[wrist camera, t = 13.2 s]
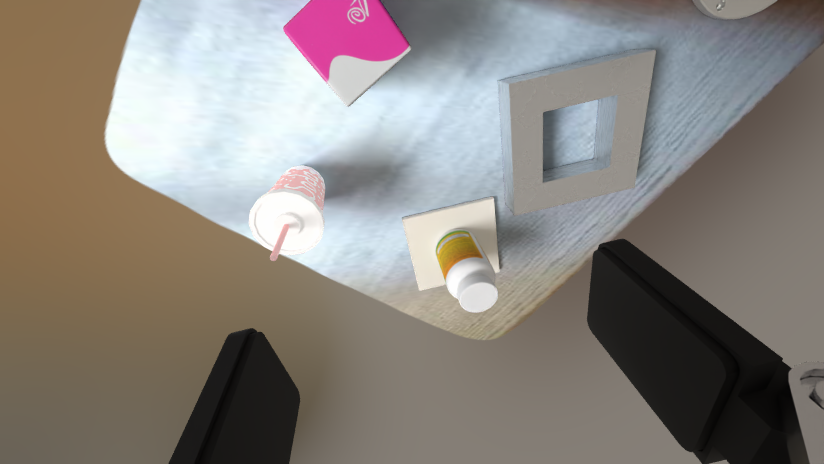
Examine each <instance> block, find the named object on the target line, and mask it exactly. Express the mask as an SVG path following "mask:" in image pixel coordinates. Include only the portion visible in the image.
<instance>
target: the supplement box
mask: <svg viewBox="0 0 824 464" xmlns="http://www.w3.org/2000/svg"><path fill="white" fill-rule="evenodd" d="M283 30H284V32H285V34H286V35H287V36H288V37H289V39H290V40H291V41H292V42H293V44H294V45H295V46H296V47H297V48H298V50H299V51H300V52H301V53H302V55H303V56H304V57H305V58H306V59H307V61H308V62H309V63H310V64H311V65H312V66H313V68H314V69H315V70H316V71H317V72H318V74H319V75H320V76H321V77H322V78H323V79H324V81H325V82H326V83H327V84H328V85H329V86H330V88H331V89H332V90H333V91H334V92H335V93H336V95H337V96H338V97H339V98H340V99H341V100H342V102H343V103H344V104H345V105H346V106H347V107H349V106H350V105H351V104H353V103H354V102H355V101H356V100H357V99H358V98H359V97H360V96H362V95H363V94H364V93H365V92H366V91H367V90H368V89H369V88H370V87H371V86H373V85H374V84H375V83H376V82H377V81H378V80H379V79H380V78H381V77H382V76H383V75H385V74H386V73H387V72H388V71H389V70H390V69H391V68H392V67H393V66H394V65H395V64H396V63H397V62H399V61H400V60H401V59H402V58H403V57H404V56H405V55H406V54H407V53H408V52H410V51H411V49H412V48H411V46H410V44H409V43H408V41H407V40H406V38H405V37H404V35H403V34H402V32H401V31H400V29H399V28H398V26H397V25H396V23H395V22H394V20H393V19H392V17H391V16H390V14H389V13H388V11H387V10H386V8H385V7H384V5H383V4H382V2H381V1H380V0H311V1H310V2H309V3H308V4H307V5H306V6H305V7H304V8H303V9H301V10H300V11H299V12H298V13H297V14H296V15H295V16H294V17H293V18H292V19H291V20H290V21H289V22H288V23H287V24H286V25H285V26H284V27H283Z"/></svg>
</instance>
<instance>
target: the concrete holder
mask: <svg viewBox="0 0 824 464" xmlns="http://www.w3.org/2000/svg"><path fill="white" fill-rule="evenodd" d="M655 55H656V50H645V49H632V50H628V51H624V52H619V53H615V54H611V55H606V56H602V57H598V58H593V59H589V60H585V61H580V62H576V63H572V64H568V65H563V66H559V67H555V68H550V69H546V70H542V71H537V72H533V73H529V74H524V75H520V76H516V77H511V78H507V79H503V80H498V94H499V111H500V128H501V145H502V162H503V179H504V196H505V205H506V206H507V208H508V209H509V210H510V211H511V212H512V213H513V214H514V216H516V215H520V214H525V213H529V212H533V211H537V210H542V209H546V208H550V207H554V206H558V205H563V204H567V203H571V202H575V201H580V200H584V199H588V198H592V197H597V196H601V195H605V194H609V193H614V192H618V191H622V190H626V189H631V188H634V187H635V181H636V175H637V168H638V162H639V156H640V150H641V143H642V137H643V131H644V124H645V118H646V112H647V105H648V99H649V93H650V86H651V80H652V74H653V67H654V61H655ZM597 99H599V100H598V111H597V123H596V135H595V146H594V158H593V159H591V160H586V161H582V162H578V163H574V164H569V165H565V166H561V167H556V168H552V169H548V170H544V171H543V112H546V111H550V110H555V109H559V108H563V107H567V106H572V105H576V104H580V103H585V102H589V101H593V100H597Z"/></svg>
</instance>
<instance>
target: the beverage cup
mask: <svg viewBox="0 0 824 464" xmlns="http://www.w3.org/2000/svg"><path fill="white" fill-rule="evenodd" d="M324 195H325V183H324V179H323V178H322V176H321V175H320V174H319V172H317V171H316V170H314V169H313V168H311V167H308V166H303V165H300V166H293V167H292V168H290V169H288V170H287V171H286V172H285V173H284V174H283V175H282V176H281V178H280V179H279V180H278V181H277V182H276V184H275V185H274V186H273V187H272V188H271V189H270V191H269V192H268V193H266V194H264V195H263V196H261V197H260V198H259V199H258V200H257V201H256V203H255V204H254V206H253V208H252V209H251V211H250V216H249V226H250V228H251V231H252V234H253V236H254V237H255V238H256V239H257V240H258V241H259V243H260V244H261V245H262V246H264V247H265V248H267V249H269V250H271V251H272V254H271V256H270V260H272V261H275V260H276V259H277V257H278V255H279V254H285V255H295V254H302V253H305V252H307V251H308V250H310V249H312V248H314V247H315V246H316V245H317V243H318V242H319V241H320V239H321V238H322V234H323V229H324V223H325V221H324V217H323V206H324Z"/></svg>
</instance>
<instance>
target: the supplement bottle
mask: <svg viewBox="0 0 824 464" xmlns="http://www.w3.org/2000/svg"><path fill="white" fill-rule="evenodd" d="M435 252H436V256H437V259H438V262H439V265H440V268H441V271H442V274H443V276H444V279H445V282H446V285H447V288H448V290H449V292H450V293H451V294H452V295H453V296H454V297H455V298H457V299H458V300H459V302H460V305H461V306H462V308H463V309H465V310H466V311H469V312H482V311H485V310H487V309H489V308H490V307H491V306H493V305H494V303H495V302H496V300H497V298H498V290H497V288H496V286H495V284H494V283H495V271H494V269H493V267H492V265H491V263H490V261H489V260H488V258H487V256H486V254H485V253H484V251H483V249H482V247H481V245H480V244H479V242H478V240H477V239H476V237H475V236H474V235H473V234H472V233H471V232H469V231H467V230H464V229H454V230H451V231H448V232H446V233H445V234H444V235H442V236H441V237H440V239H439V240H438V242H437V244H436V248H435Z"/></svg>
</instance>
